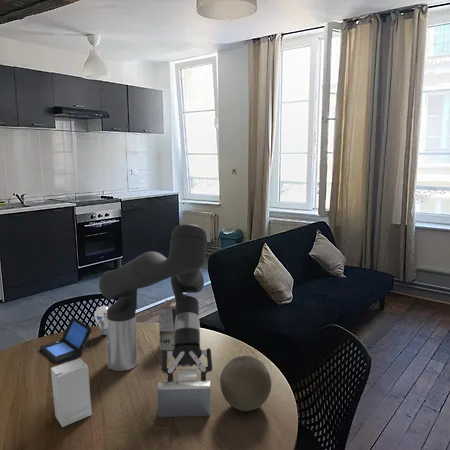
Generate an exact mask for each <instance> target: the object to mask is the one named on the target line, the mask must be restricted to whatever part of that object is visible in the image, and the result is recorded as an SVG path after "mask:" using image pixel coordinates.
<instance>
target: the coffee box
mask: <svg viewBox="0 0 450 450" xmlns="http://www.w3.org/2000/svg"><path fill="white" fill-rule="evenodd" d="M158 319H159V320H158V321H159V325H158V326H159V351H164V350H167V351H173V350H174V334H175V319H176V301H175V299H174V300H173V299H171V300H165V301H164V302H163V303H162V304H161V305H160V306H159V307H158Z"/></svg>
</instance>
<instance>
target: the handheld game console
mask: <svg viewBox="0 0 450 450" xmlns="http://www.w3.org/2000/svg"><path fill="white" fill-rule="evenodd" d="M91 334H92V328H91V327H90V326H89V325H87V324H85V323H83V322H82V321H80V320H78V319H77V318H76V317H74V316H73V317H72V318H71V319H70V320H69V321H68V324H67V327H66V329H65V331H64V333H63V335H62V337H61V338H60V339H58V340H55V341H52V342H49V343H45V344H43V345H41V346H40V347H39V349H40V351H41V352H42V353H43V354H44V355H46V356H47V357H48V358H49V359H51V360H52V361H53V362H54V363H56V364H60V363H63V362H64V363H65V362H66V361H70V360H72V359H74V358H78V357H81V356H83V350H84V347H85V345H86V343H87V341H88V339H89V337H90V335H91Z"/></svg>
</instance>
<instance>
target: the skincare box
mask: <svg viewBox="0 0 450 450" xmlns="http://www.w3.org/2000/svg"><path fill="white" fill-rule="evenodd" d="M50 373H51V374H50V375H51V385H52V395H53V403H54V404H53V405H54V414H55V418H56V420H57V421H58V423H59V425H60V426H61V427H62V428H64V427H66V426H68V425H71V424H74V423H76V422H78V421H81V420H83V419H86V418H88V417H90V416H92V415H93V414H92V402H91V389H90V388H91V387H90V376H89V375H90V374H89V366H88V364H87V363H85V362H84V360H83V359H81V358H80V357H79V358H77V359H74V360H71V361H70V360H69V361H68V362H64V363H62V364H59V365H56V366H53V367H51V368H50Z"/></svg>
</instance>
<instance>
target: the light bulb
mask: <svg viewBox="0 0 450 450" xmlns="http://www.w3.org/2000/svg"><path fill="white" fill-rule="evenodd" d="M109 307H110V306H107V305H102V306H101V305H100V306H99V307H98V308H97V309H95V312H94V320H95V321H96V323H97V324H98V327H99V334H100V335H102V336H103V335H104V337H105V335H106V336H108V325H107V310H108V308H109Z"/></svg>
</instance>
